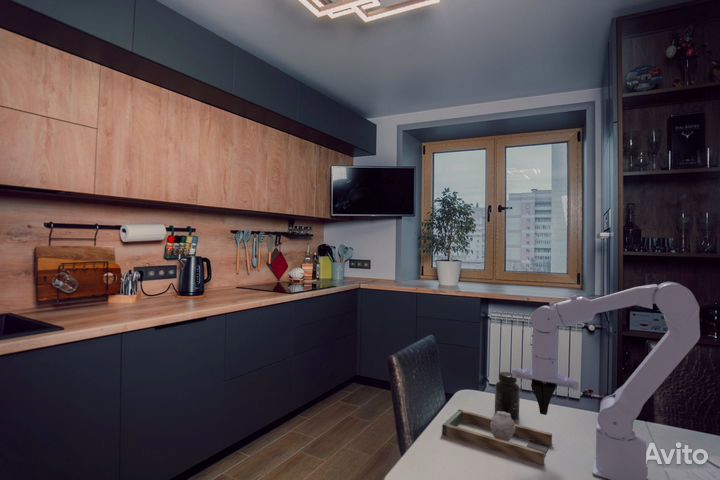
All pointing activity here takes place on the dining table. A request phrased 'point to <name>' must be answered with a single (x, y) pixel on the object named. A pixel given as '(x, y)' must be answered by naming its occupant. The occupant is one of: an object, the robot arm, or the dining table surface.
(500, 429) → the white head sculpture
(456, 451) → the dining table surface
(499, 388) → the supplement bottle
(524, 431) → the box
